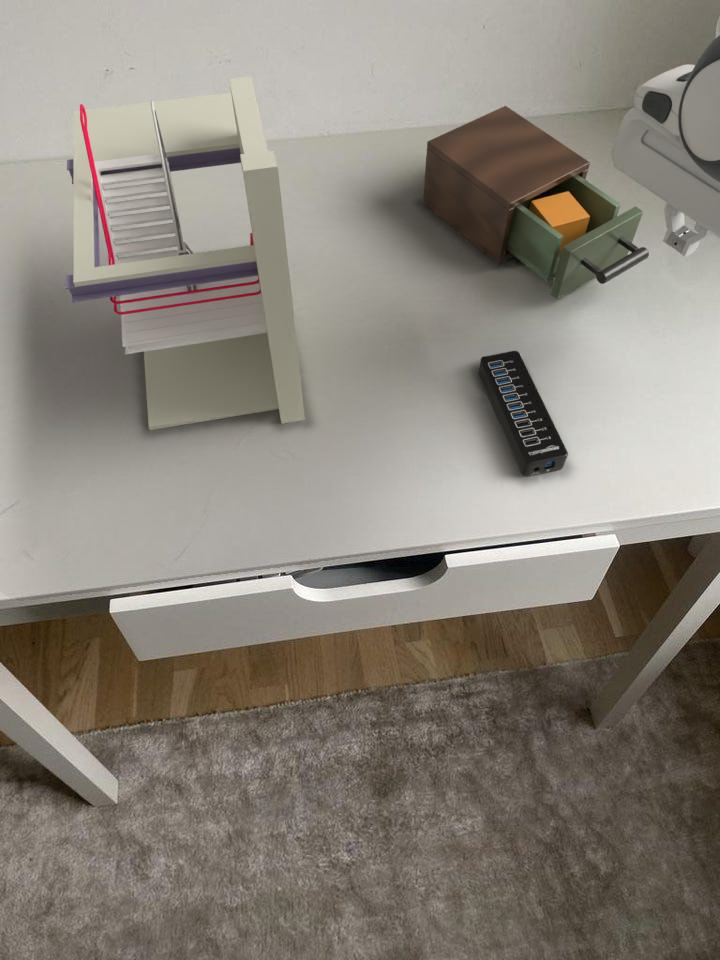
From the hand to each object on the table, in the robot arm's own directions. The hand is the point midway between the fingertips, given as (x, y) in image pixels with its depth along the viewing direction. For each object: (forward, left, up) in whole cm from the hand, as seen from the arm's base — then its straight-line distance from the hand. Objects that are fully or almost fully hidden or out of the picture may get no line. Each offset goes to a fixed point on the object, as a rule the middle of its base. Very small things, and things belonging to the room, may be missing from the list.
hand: (678, 247), depth 78 cm
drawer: (+5, -13, -11) cm, 17 cm away
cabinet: (+9, -23, -12) cm, 28 cm away
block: (+6, -14, -9) cm, 18 cm away
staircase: (+49, -11, -12) cm, 51 cm away
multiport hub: (+19, +9, -12) cm, 24 cm away
